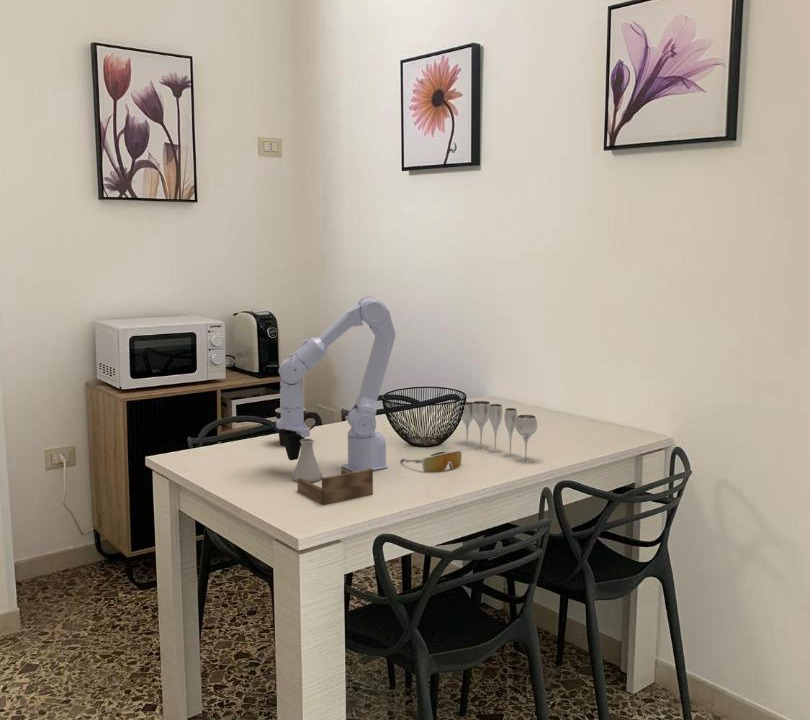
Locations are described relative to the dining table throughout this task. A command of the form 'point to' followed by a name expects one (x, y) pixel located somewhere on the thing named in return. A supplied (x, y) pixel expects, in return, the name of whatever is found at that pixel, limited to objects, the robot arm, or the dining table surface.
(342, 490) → the shelf bay
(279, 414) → the coffee mug
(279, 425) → the robot arm
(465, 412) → the goblet set
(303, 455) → the flask
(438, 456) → the sunglasses
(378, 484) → the dining table surface
